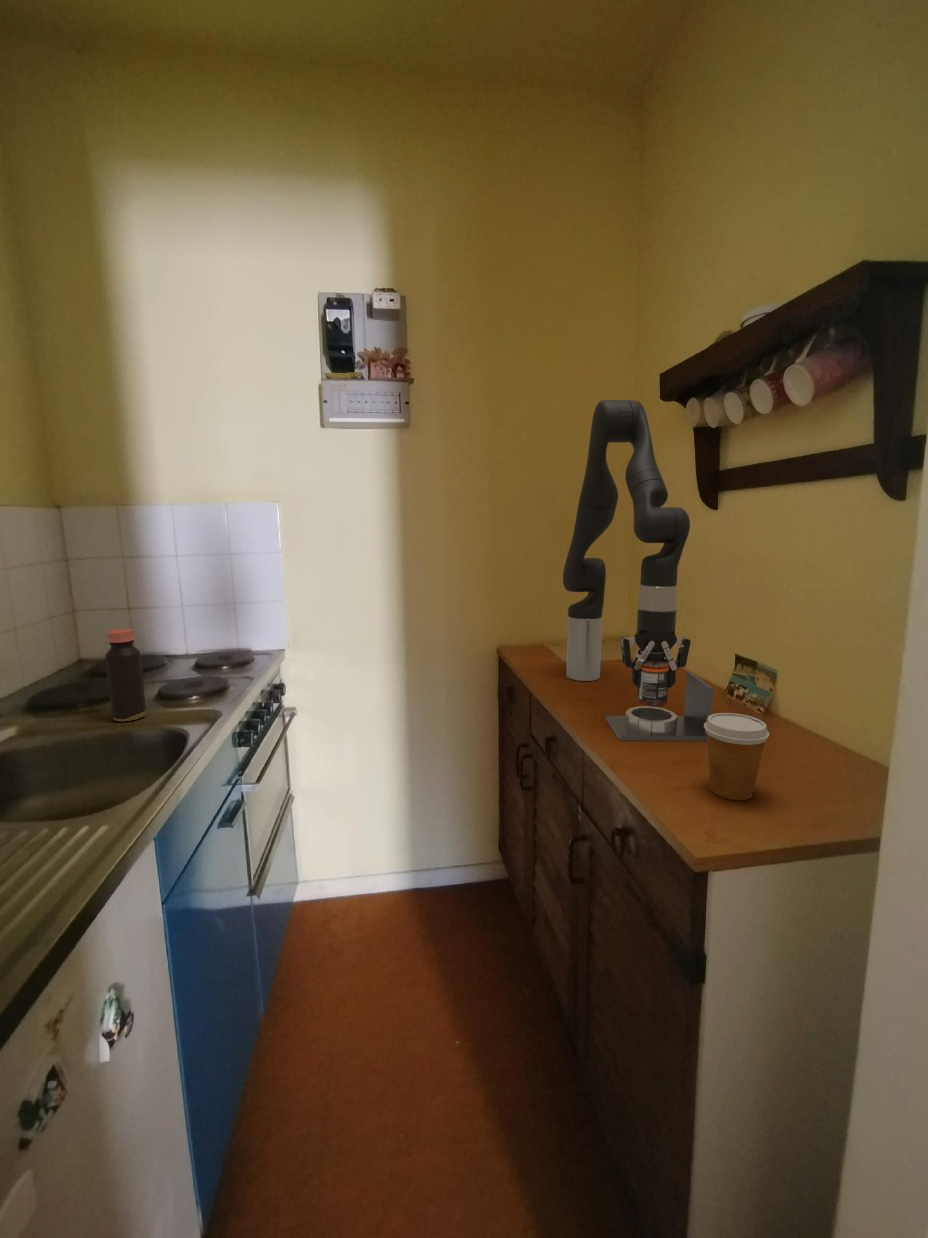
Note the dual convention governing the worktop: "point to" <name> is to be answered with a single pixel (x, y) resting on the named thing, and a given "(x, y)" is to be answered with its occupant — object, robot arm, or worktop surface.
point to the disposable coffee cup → (734, 753)
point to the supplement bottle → (654, 680)
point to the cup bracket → (668, 717)
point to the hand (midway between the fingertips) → (652, 686)
